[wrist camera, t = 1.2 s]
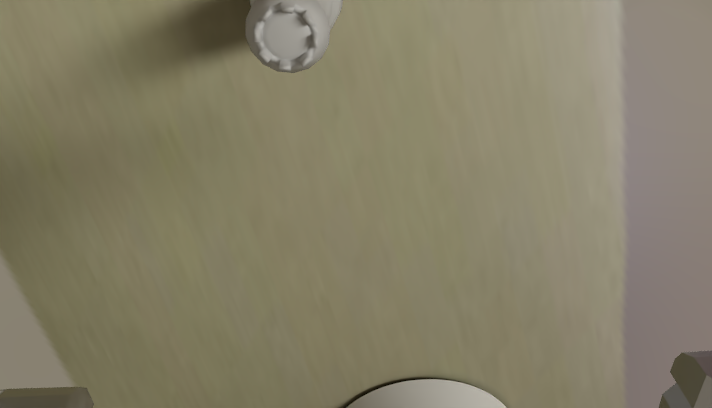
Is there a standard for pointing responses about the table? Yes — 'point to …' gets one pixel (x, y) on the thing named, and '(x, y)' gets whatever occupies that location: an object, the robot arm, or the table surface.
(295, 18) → the rook chess piece
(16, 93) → the table surface
